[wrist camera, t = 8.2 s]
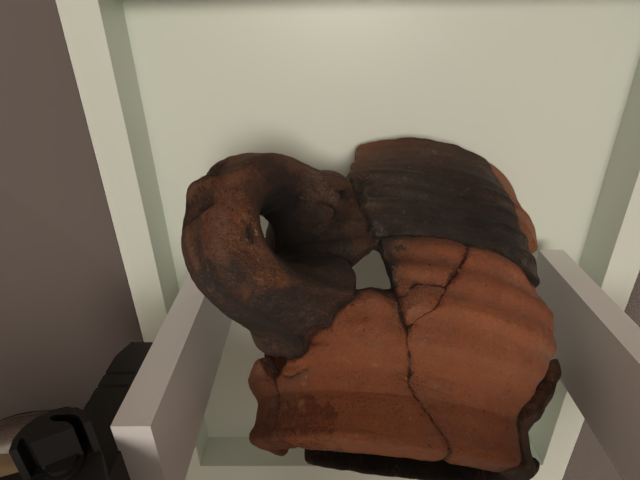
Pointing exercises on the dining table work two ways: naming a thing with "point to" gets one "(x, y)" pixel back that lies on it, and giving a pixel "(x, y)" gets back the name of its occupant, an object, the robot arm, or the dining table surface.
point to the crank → (7, 465)
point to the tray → (359, 142)
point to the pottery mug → (382, 308)
